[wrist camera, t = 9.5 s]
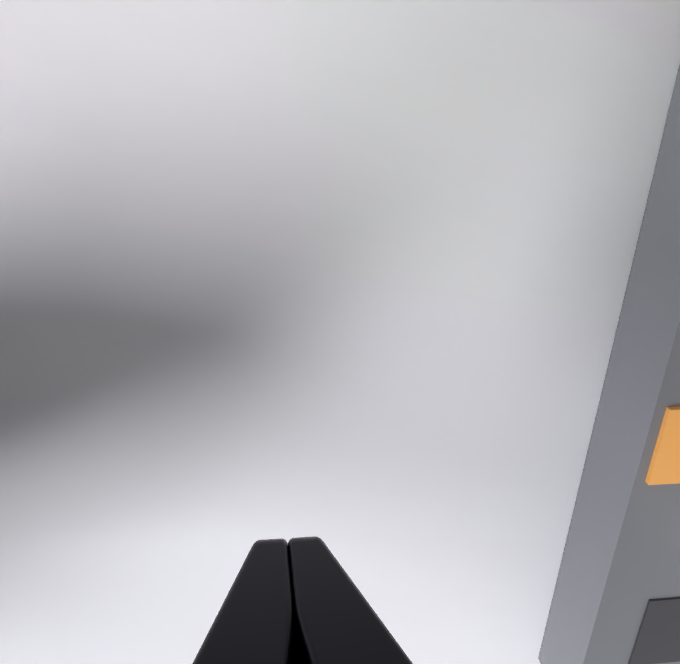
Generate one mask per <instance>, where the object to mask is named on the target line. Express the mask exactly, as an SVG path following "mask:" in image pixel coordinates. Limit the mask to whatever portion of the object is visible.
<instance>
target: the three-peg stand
mask: <svg viewBox="0 0 680 664" xmlns="http://www.w3.org/2000/svg"><path fill="white" fill-rule="evenodd" d="M539 661H540V663H541V664H680V66H679V70H678V75H677V79H676V83H675V87H674V91H673V96H672V100H671V104H670V108H669V112H668V117H667V121H666V125H665V129H664V133H663V138H662V142H661V146H660V150H659V154H658V159H657V163H656V167H655V171H654V175H653V180H652V184H651V188H650V192H649V196H648V200H647V205H646V209H645V213H644V217H643V221H642V226H641V230H640V234H639V238H638V242H637V247H636V251H635V255H634V259H633V263H632V268H631V272H630V276H629V280H628V284H627V289H626V293H625V297H624V301H623V305H622V310H621V314H620V318H619V322H618V326H617V331H616V335H615V339H614V343H613V347H612V352H611V356H610V360H609V364H608V368H607V373H606V377H605V381H604V385H603V389H602V394H601V398H600V402H599V406H598V410H597V415H596V419H595V423H594V427H593V431H592V436H591V440H590V444H589V448H588V452H587V457H586V461H585V465H584V469H583V473H582V478H581V482H580V486H579V490H578V494H577V499H576V503H575V507H574V511H573V515H572V520H571V524H570V528H569V532H568V536H567V541H566V545H565V549H564V553H563V557H562V562H561V566H560V570H559V574H558V578H557V583H556V587H555V591H554V595H553V599H552V604H551V608H550V612H549V616H548V620H547V625H546V629H545V633H544V637H543V641H542V646H541V650H540V654H539Z"/></svg>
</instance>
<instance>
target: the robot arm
mask: <svg viewBox="0 0 680 664" xmlns="http://www.w3.org/2000/svg"><path fill="white" fill-rule="evenodd" d="M193 664H413V663H412V662H411V661H410V659H409V658H408V657H407V655H406V654H405V653H404V651H403V650H402V648H401V647H400V646H399V644H398V643H397V642H396V640H395V639H394V638H393V636H392V635H391V633H390V632H389V631H388V629H387V628H386V627H385V625H384V624H383V622H382V621H381V620H380V618H379V617H378V616H377V614H376V613H375V612H374V610H373V609H372V607H371V606H370V605H369V603H368V602H367V601H366V599H365V598H364V597H363V595H362V594H361V592H360V591H359V590H358V588H357V587H356V586H355V584H354V583H353V582H352V580H351V579H350V577H349V576H348V575H347V573H346V572H345V571H344V569H343V568H342V567H341V565H340V564H339V562H338V561H337V560H336V558H335V557H334V556H333V554H332V553H331V552H330V550H329V549H328V547H327V546H326V545H325V543H324V542H323V541H322V540H321V539H320V538H319V537H301V538H292V539H290V540H289V542H288V544H287V542H286V540H284V539H268V540H258V541H256V542H255V543H254V544H253V546H252V548H251V550H250V552H249V554H248V556H247V558H246V559H245V561H244V563H243V565H242V567H241V569H240V571H239V573H238V575H237V577H236V579H235V581H234V583H233V585H232V587H231V589H230V591H229V593H228V595H227V597H226V599H225V601H224V603H223V605H222V607H221V609H220V611H219V613H218V615H217V617H216V618H215V620H214V622H213V624H212V626H211V628H210V630H209V632H208V634H207V636H206V638H205V640H204V642H203V644H202V646H201V648H200V650H199V652H198V654H197V656H196V658H195V660H194V662H193Z"/></svg>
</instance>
